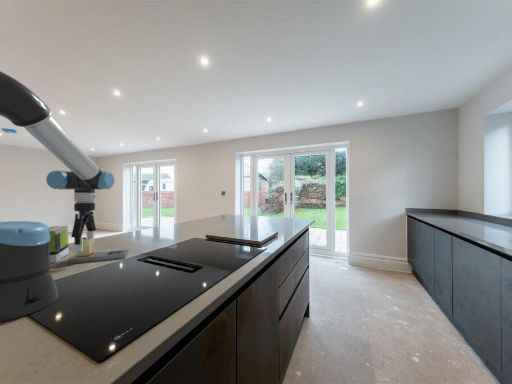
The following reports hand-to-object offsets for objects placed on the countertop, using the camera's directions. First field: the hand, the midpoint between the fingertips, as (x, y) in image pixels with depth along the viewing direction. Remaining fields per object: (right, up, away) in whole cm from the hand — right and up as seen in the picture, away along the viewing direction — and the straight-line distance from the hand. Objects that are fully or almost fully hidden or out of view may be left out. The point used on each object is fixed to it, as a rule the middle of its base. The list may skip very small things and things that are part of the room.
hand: (84, 247), depth 97 cm
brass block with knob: (0, -6, 0) cm, 6 cm away
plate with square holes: (+6, -6, +2) cm, 8 cm away
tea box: (-18, -6, +1) cm, 18 cm away
